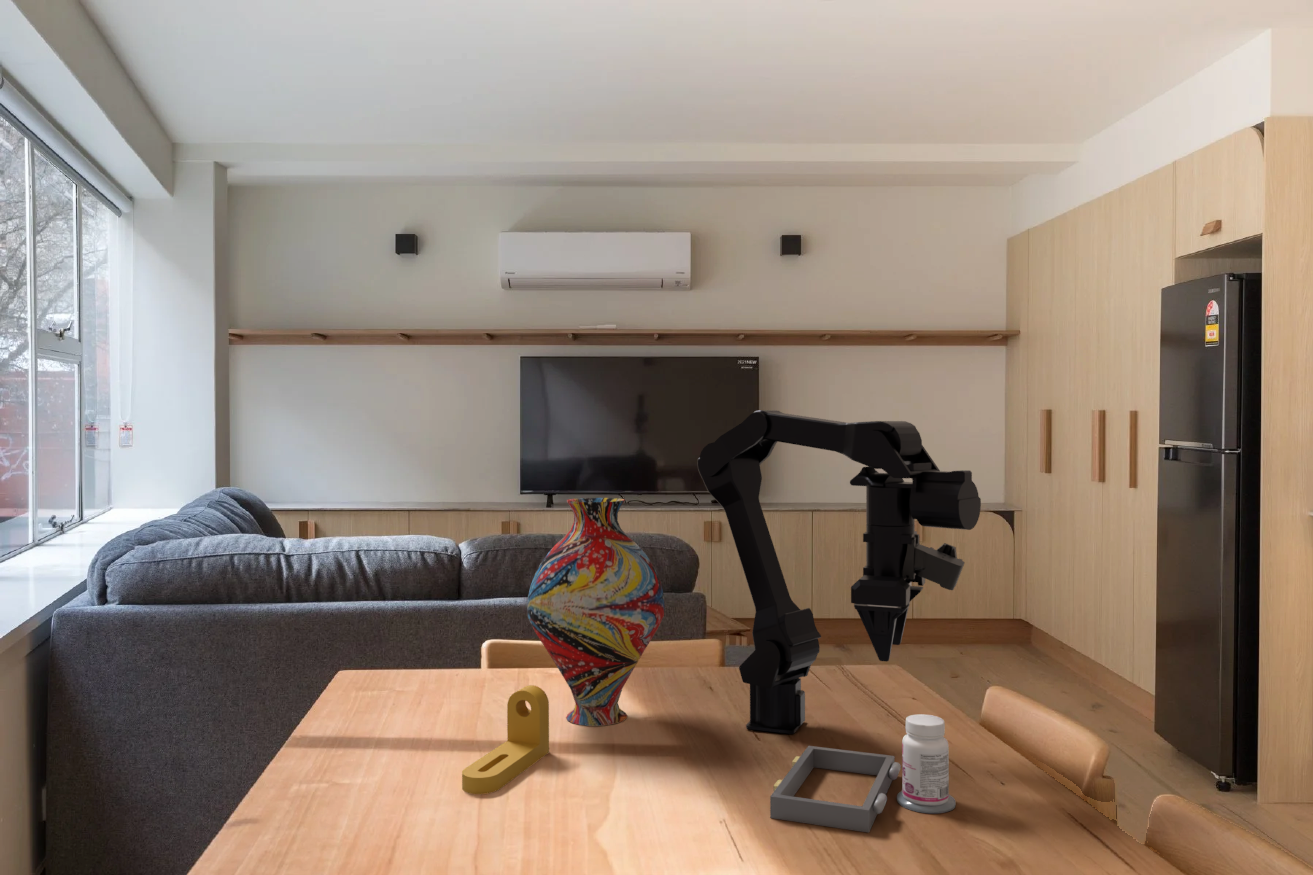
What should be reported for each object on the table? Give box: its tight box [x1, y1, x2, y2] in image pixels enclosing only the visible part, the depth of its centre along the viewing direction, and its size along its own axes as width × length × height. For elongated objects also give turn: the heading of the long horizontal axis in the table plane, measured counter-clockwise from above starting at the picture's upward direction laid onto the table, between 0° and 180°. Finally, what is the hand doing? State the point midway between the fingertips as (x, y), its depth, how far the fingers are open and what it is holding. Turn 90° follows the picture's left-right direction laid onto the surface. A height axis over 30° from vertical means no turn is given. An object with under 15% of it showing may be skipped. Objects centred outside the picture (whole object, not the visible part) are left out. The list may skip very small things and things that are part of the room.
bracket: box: [461, 684, 550, 795], centre depth 114 cm, size 15×4×8 cm, turn 161°
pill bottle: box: [901, 713, 950, 806], centre depth 104 cm, size 5×5×8 cm
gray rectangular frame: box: [769, 745, 902, 833], centre depth 106 cm, size 12×17×2 cm
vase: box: [526, 497, 666, 727], centre depth 135 cm, size 19×19×30 cm
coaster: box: [896, 790, 957, 814], centre depth 104 cm, size 6×6×1 cm
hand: (890, 652), depth 119 cm, fingers open, 9 cm apart
